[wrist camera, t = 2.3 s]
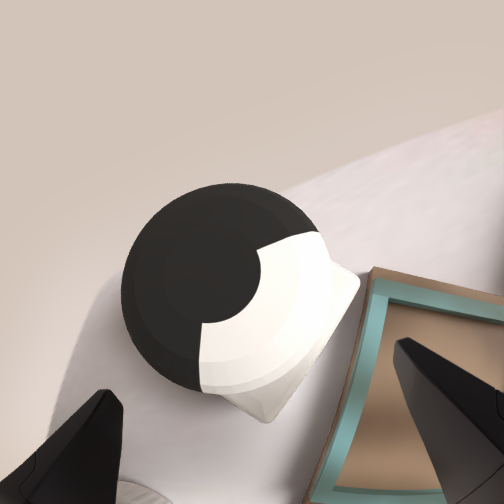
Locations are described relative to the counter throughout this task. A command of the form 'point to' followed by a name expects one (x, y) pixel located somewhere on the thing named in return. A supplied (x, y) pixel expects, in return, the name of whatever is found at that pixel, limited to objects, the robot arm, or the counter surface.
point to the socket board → (390, 393)
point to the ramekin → (137, 494)
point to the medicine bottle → (234, 295)
